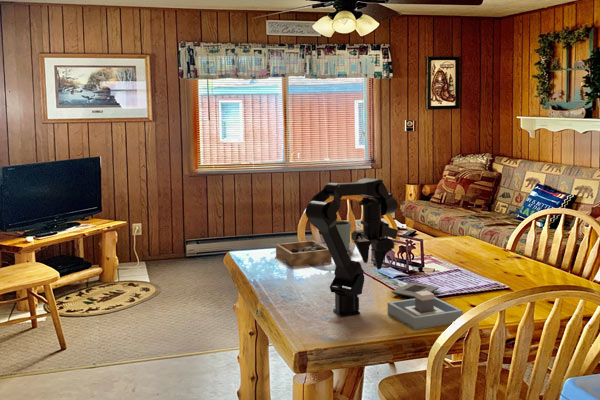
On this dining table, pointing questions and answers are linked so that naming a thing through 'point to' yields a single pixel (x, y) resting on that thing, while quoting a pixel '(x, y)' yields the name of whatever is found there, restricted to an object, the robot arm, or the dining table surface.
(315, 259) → the wooden tray
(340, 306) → the robot arm
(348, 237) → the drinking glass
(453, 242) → the dining table surface
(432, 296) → the plug
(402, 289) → the grey rectangular plate
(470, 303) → the dining table surface
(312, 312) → the dining table surface
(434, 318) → the walled box
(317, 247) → the bison figurine
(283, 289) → the dining table surface
